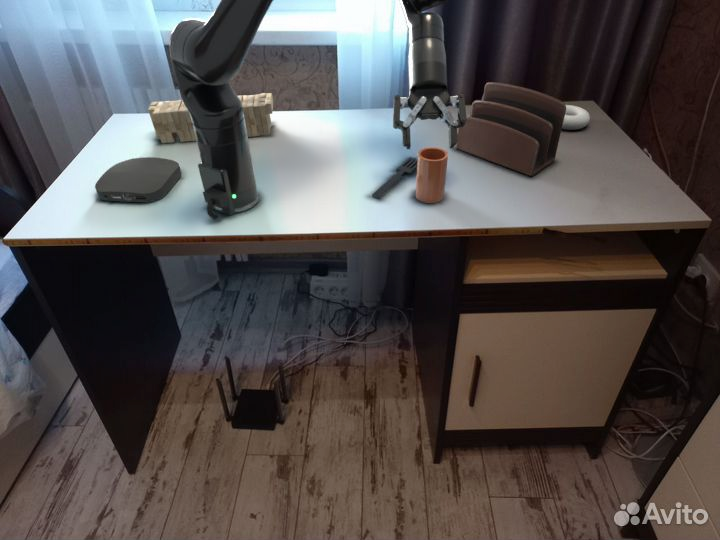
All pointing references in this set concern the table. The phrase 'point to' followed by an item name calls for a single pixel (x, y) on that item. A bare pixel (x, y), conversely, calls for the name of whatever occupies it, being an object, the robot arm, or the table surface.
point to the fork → (397, 177)
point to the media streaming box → (138, 180)
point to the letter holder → (513, 128)
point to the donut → (575, 118)
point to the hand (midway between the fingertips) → (430, 147)
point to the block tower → (177, 120)
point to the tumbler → (431, 174)
